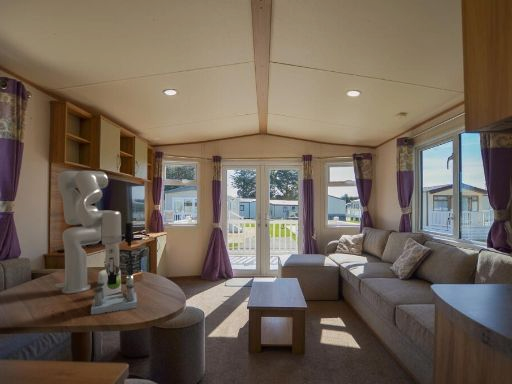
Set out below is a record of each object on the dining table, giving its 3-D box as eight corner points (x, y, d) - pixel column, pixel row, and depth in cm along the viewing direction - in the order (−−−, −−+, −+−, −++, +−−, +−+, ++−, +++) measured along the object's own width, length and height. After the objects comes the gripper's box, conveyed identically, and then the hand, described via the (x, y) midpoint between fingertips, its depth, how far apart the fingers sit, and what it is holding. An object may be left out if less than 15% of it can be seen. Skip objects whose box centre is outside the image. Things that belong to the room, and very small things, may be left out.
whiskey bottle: (115, 281, 167) (115, 223, 167) (129, 277, 176) (128, 221, 176) (130, 283, 163) (129, 223, 163) (143, 278, 172) (142, 222, 172)
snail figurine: (107, 287, 132) (107, 259, 132) (122, 286, 133) (122, 259, 133) (102, 291, 127) (101, 262, 127) (118, 290, 127) (117, 262, 127)
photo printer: (100, 298, 140) (100, 271, 140) (96, 296, 143) (96, 269, 143) (122, 292, 148) (122, 266, 148) (118, 290, 151) (118, 265, 151)
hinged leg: (133, 298, 131) (133, 279, 131) (126, 299, 129) (126, 280, 130) (133, 292, 138) (133, 274, 138) (126, 293, 137) (126, 275, 137)
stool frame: (91, 314, 120) (90, 291, 120) (94, 303, 133) (94, 282, 133) (137, 307, 127) (136, 286, 127) (136, 297, 140) (135, 277, 140)
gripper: (120, 241, 123) (121, 286, 123) (121, 237, 139) (122, 276, 139) (100, 243, 120) (101, 289, 120) (103, 238, 136) (104, 278, 136)
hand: (112, 281), depth 130 cm, fingers closed on snail figurine, 5 cm apart
